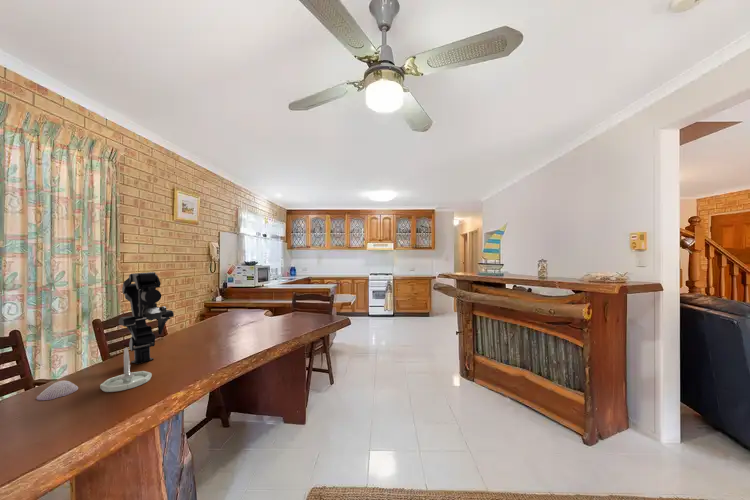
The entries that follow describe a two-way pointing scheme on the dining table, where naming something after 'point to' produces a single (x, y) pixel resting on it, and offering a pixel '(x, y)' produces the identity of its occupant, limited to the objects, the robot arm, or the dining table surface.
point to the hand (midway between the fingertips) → (148, 337)
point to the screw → (126, 368)
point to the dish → (118, 385)
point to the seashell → (57, 390)
